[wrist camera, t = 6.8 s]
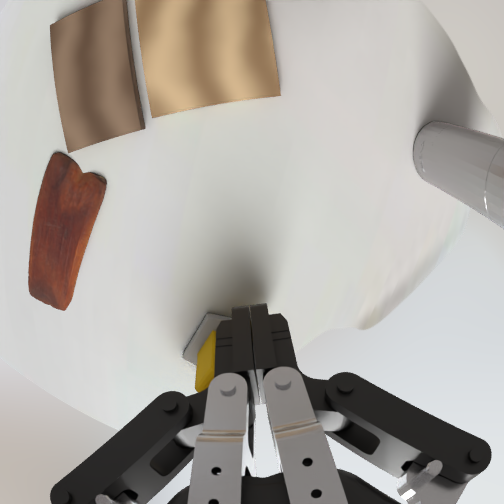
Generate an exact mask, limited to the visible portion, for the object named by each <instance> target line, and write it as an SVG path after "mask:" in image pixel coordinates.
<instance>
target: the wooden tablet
mask: <svg viewBox="0 0 504 504" xmlns="http://www.w3.org/2000/svg"><path fill="white" fill-rule="evenodd" d="M106 184H107V182H106V180H105V179H104V178H103V177H101V176H99V175H96V174H94V173H91V172H87V173H82V171H81V169H80V167H79V165H78V164H77V163H76V162H75V161H74V160H73V159H71V158H69V157H68V156H66V155H64V154H62V153H60V152H58V153H55V154H53V155H52V157H51V159H50V161H49V164H48V166H47V169H46V172H45V175H44V178H43V181H42V185H41V189H40V193H39V196H38V201H37V206H36V210H35V216H34V221H33V229H32V237H31V246H30V258H29V276H28V285H29V292H30V294H31V296H33V297H34V298H36V299H38V300H39V301H42V302H43V303H45V304H48V305H51V306H52V307H54V308H56V309H60V310H63V311H64V310H66V308H67V307H68V305H69V304H70V302H71V300H72V297H73V292H74V288H75V284H76V280H77V275H78V272H79V268H80V265H81V262H82V258H83V255H84V252H85V249H86V246H87V243H88V240H89V237H90V234H91V231H92V228H93V225H94V222H95V220H96V217H97V215H98V212H99V209H100V206H101V204H102V201H103V198H104V194H105V190H106Z"/></svg>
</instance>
